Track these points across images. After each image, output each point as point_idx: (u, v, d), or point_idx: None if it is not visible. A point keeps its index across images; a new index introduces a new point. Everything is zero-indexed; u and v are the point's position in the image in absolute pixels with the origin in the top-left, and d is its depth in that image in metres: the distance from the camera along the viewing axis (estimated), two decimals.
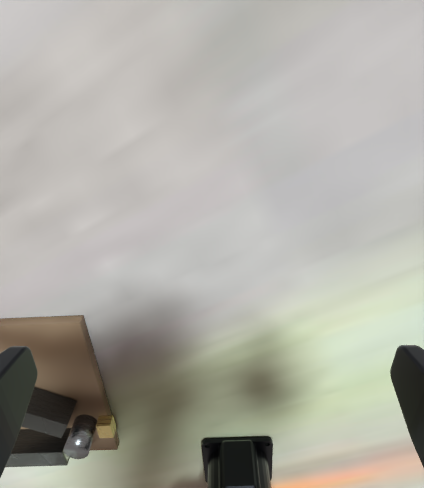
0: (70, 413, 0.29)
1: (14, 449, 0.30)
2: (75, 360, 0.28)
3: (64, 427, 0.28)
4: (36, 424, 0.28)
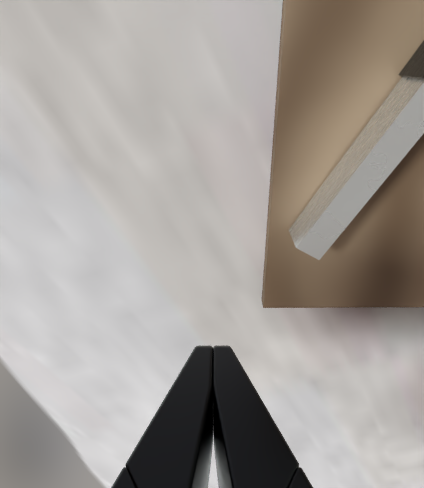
0: None
1: None
2: None
3: None
4: None
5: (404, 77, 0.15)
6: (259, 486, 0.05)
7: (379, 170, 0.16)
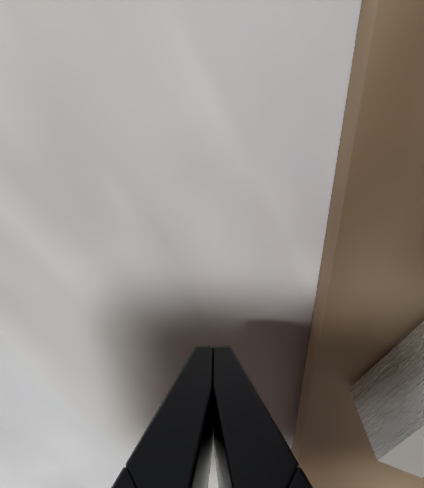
0: None
1: None
2: None
3: None
4: None
5: None
6: (259, 486, 0.05)
7: None
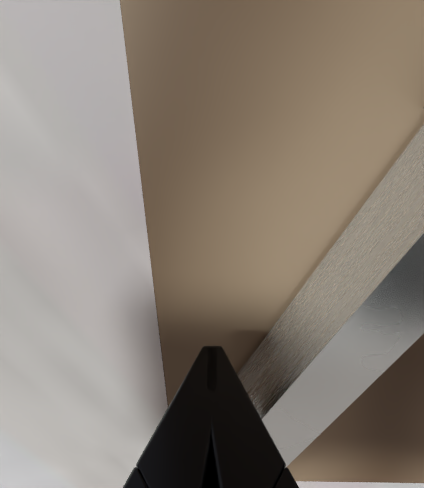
0: None
1: None
2: None
3: None
4: None
5: None
6: (245, 486, 0.05)
7: (387, 336, 0.07)
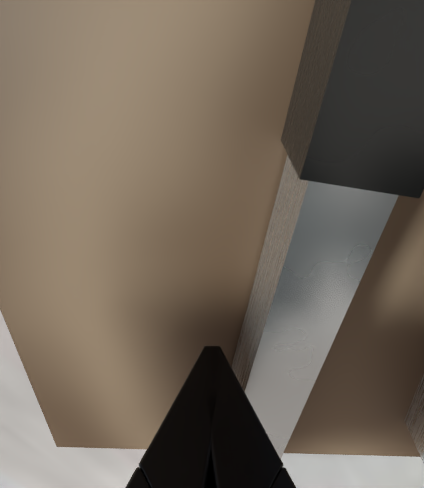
0: None
1: None
2: None
3: None
4: None
5: None
6: (242, 486, 0.05)
7: (301, 351, 0.07)
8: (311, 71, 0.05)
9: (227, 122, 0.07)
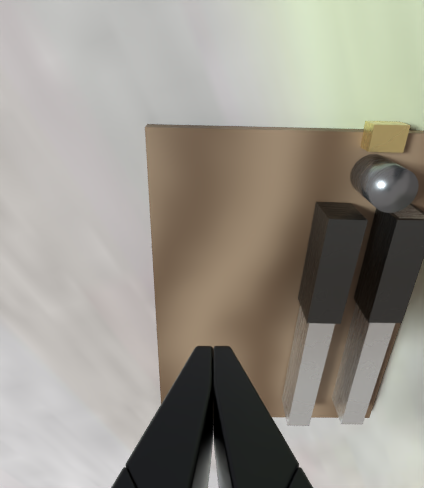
0: (322, 213, 0.17)
1: (373, 290, 0.19)
2: (224, 154, 0.17)
3: (336, 222, 0.16)
4: (341, 260, 0.17)
5: None
6: (259, 486, 0.05)
7: (314, 369, 0.21)
8: (306, 290, 0.19)
9: (262, 285, 0.21)
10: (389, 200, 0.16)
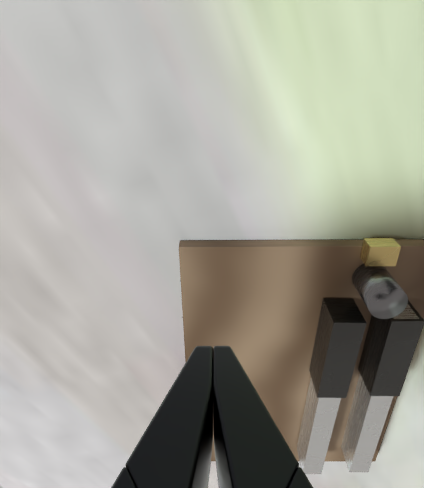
0: (328, 312, 0.21)
1: (373, 370, 0.22)
2: (244, 265, 0.21)
3: (340, 324, 0.20)
4: (345, 352, 0.21)
5: None
6: (259, 486, 0.05)
7: (324, 431, 0.24)
8: (316, 368, 0.23)
9: (278, 359, 0.24)
10: (384, 310, 0.19)
